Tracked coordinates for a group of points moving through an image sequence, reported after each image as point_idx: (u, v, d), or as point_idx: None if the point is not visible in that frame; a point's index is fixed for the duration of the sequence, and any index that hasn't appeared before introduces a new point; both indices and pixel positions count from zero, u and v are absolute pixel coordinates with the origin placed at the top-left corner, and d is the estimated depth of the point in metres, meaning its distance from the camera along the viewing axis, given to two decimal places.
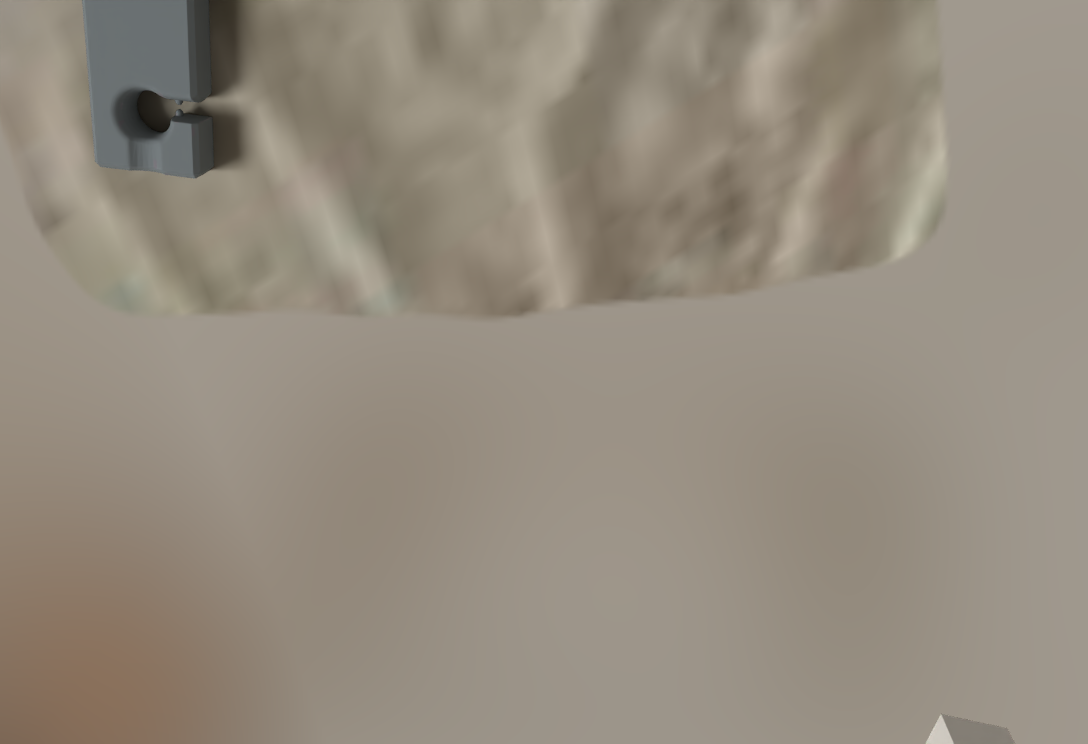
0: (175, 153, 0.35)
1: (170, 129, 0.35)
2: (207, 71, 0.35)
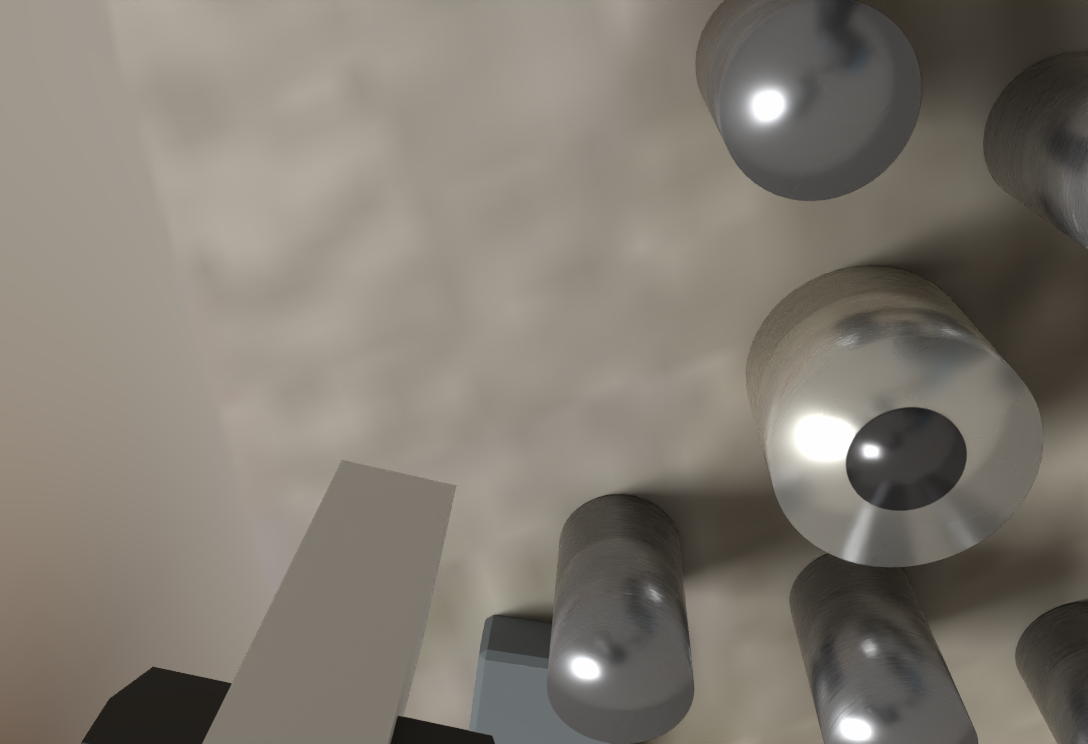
0: None
1: None
2: None
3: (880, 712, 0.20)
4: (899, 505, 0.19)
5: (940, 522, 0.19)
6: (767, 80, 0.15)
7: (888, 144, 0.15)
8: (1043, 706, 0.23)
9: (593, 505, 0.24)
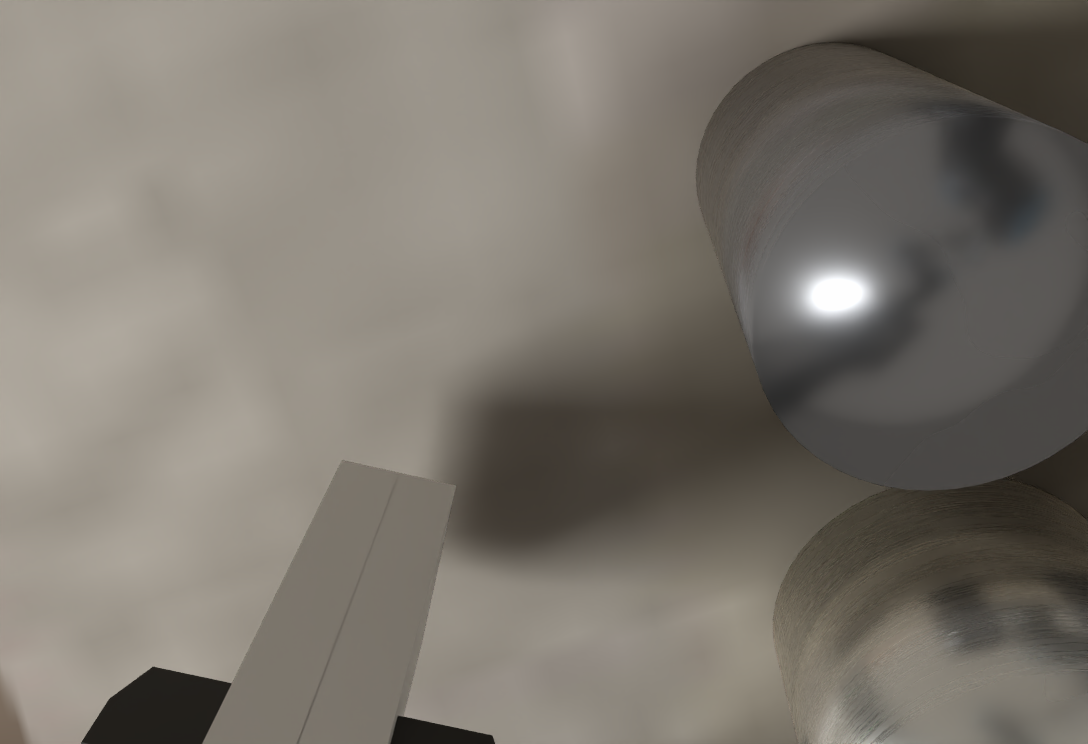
0: None
1: None
2: None
3: None
4: None
5: None
6: (850, 276, 0.07)
7: (1086, 394, 0.08)
8: None
9: None
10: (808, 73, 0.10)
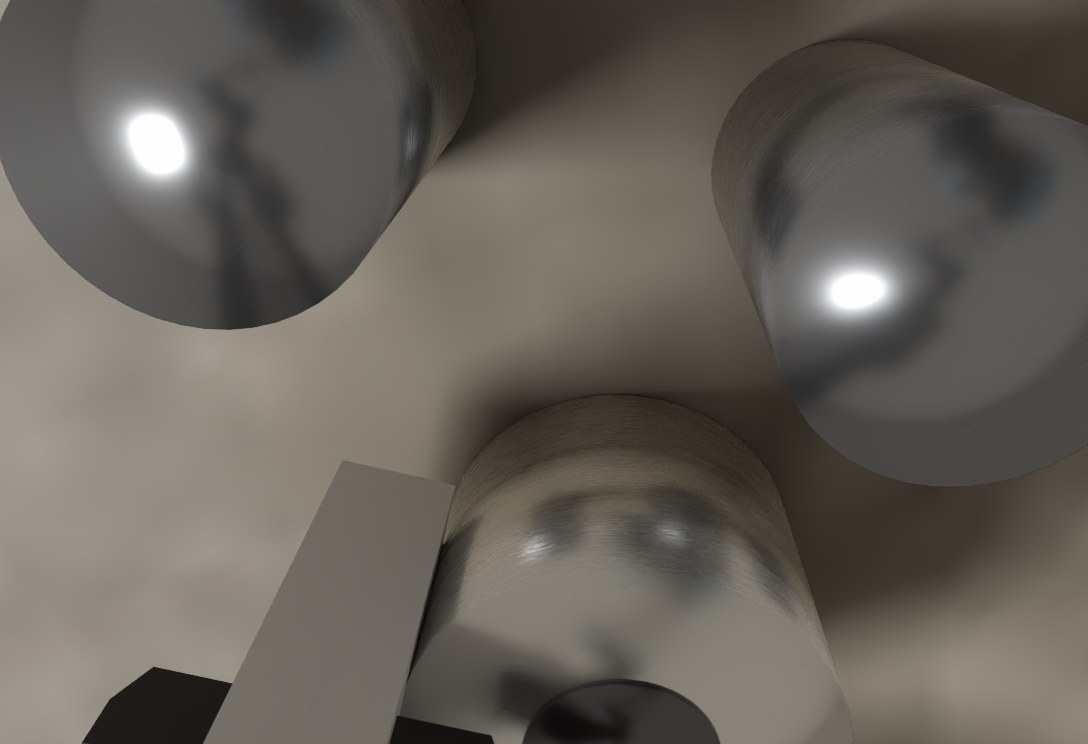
0: None
1: None
2: None
3: None
4: None
5: None
6: (75, 92, 0.07)
7: (348, 220, 0.07)
8: None
9: None
10: None
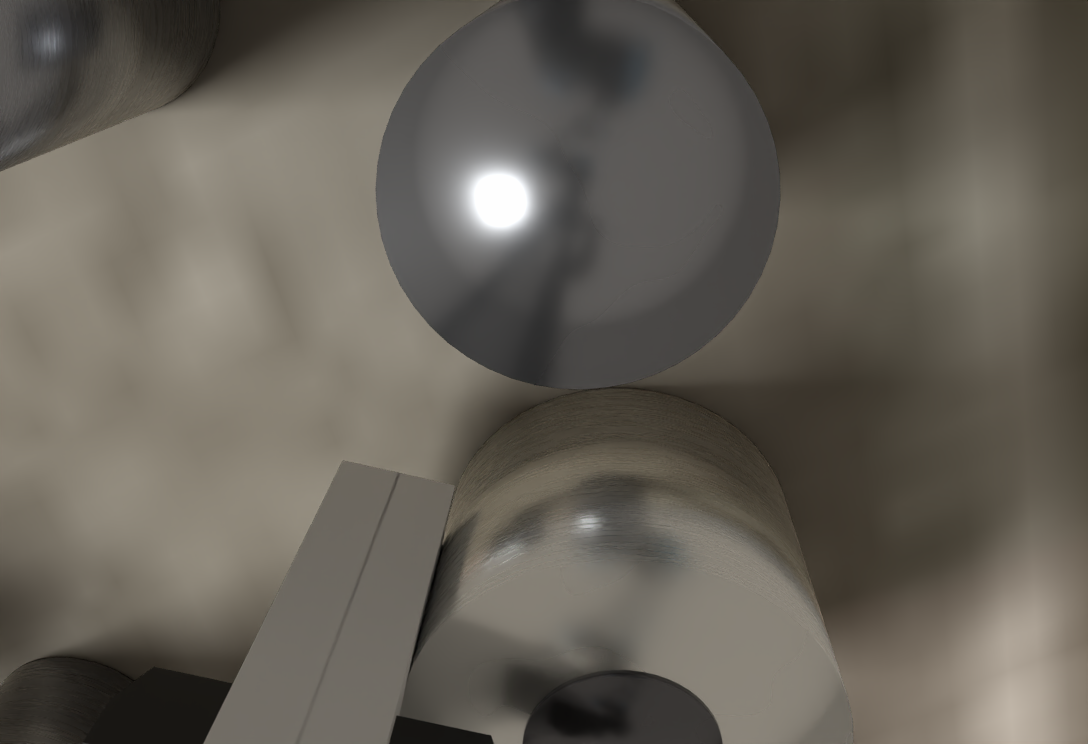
0: None
1: None
2: None
3: None
4: None
5: None
6: None
7: None
8: None
9: None
10: None
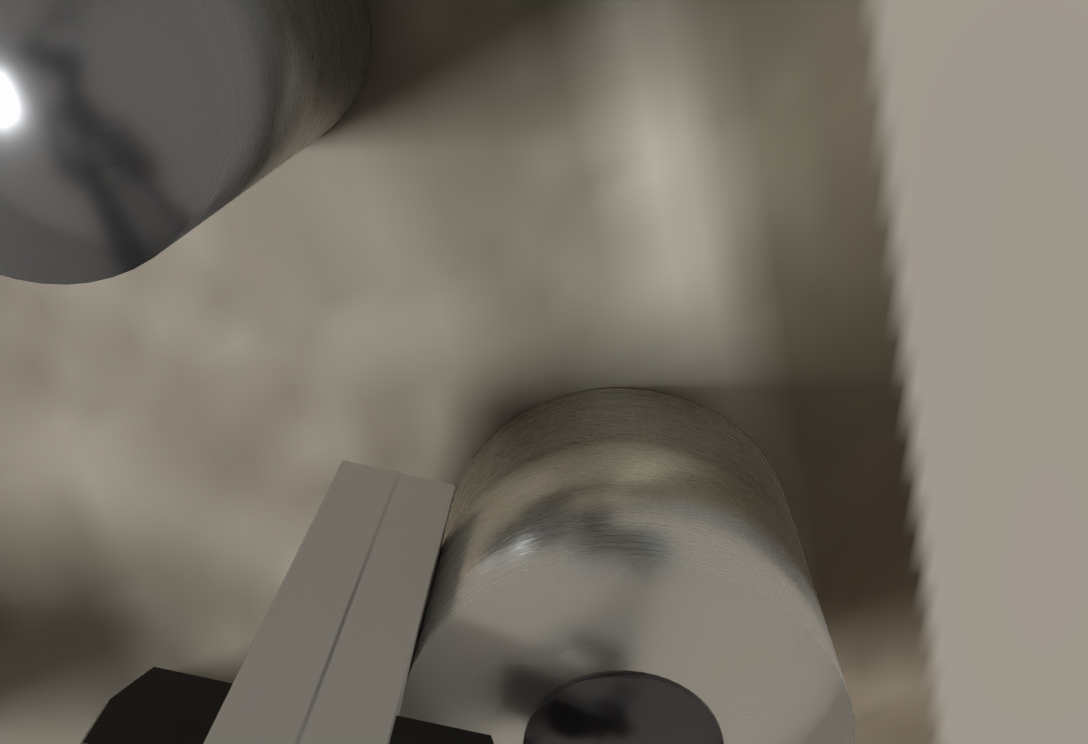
0: None
1: None
2: None
3: None
4: None
5: None
6: None
7: None
8: None
9: None
10: None
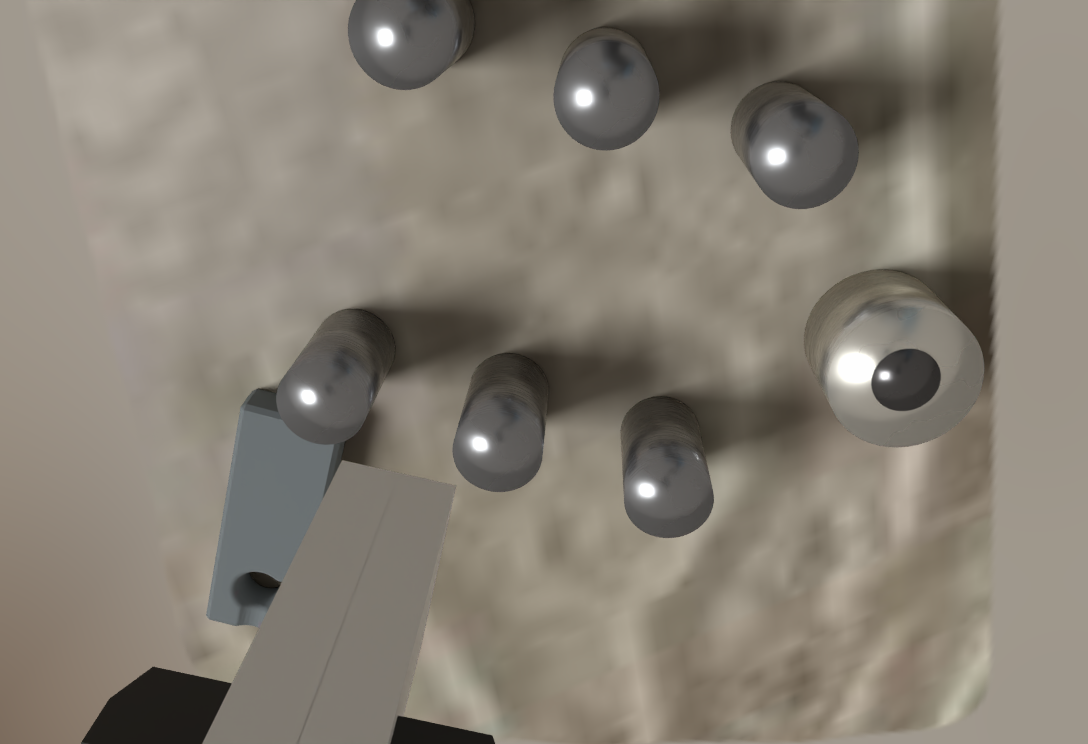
0: None
1: None
2: None
3: (480, 423, 0.32)
4: (902, 407, 0.32)
5: (926, 418, 0.32)
6: (372, 20, 0.27)
7: (440, 59, 0.27)
8: None
9: (335, 314, 0.36)
10: None
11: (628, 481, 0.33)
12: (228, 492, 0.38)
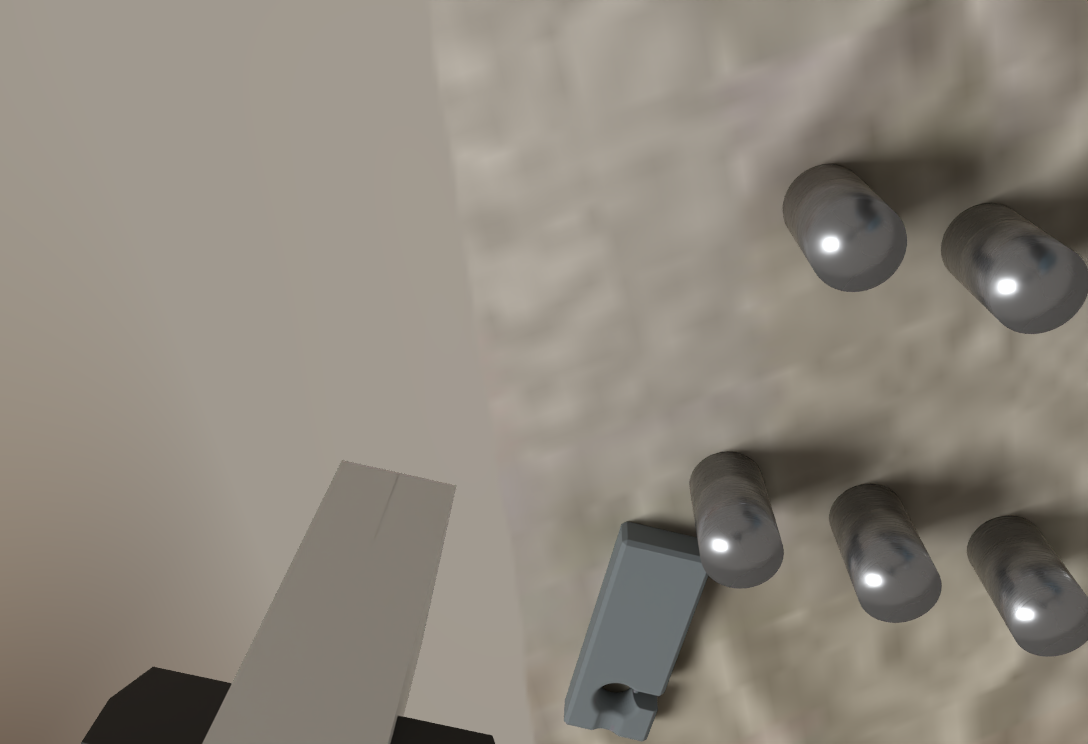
0: (633, 727, 0.44)
1: (634, 711, 0.44)
2: None
3: (887, 565, 0.35)
4: None
5: None
6: (832, 236, 0.31)
7: (891, 265, 0.31)
8: (982, 576, 0.39)
9: (713, 458, 0.39)
10: (822, 179, 0.33)
11: (1017, 609, 0.36)
12: (601, 615, 0.42)
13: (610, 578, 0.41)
